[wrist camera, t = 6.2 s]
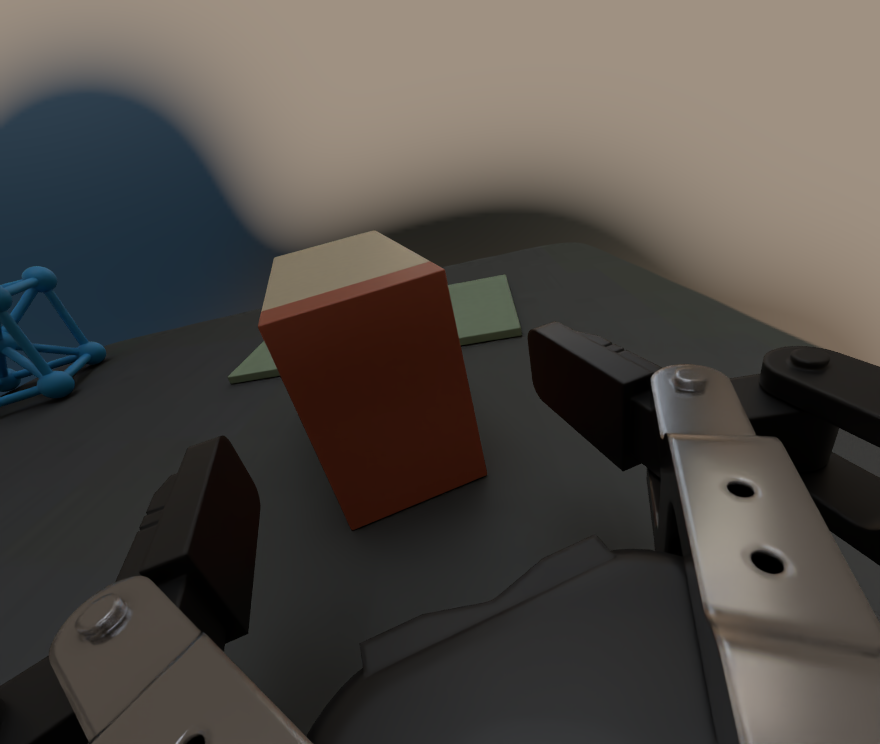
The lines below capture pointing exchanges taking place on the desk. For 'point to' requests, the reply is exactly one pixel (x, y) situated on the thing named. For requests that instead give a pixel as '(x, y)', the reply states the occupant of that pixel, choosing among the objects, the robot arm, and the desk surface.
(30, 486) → the desk surface
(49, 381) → the molecular structure
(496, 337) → the mat
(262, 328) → the carton
